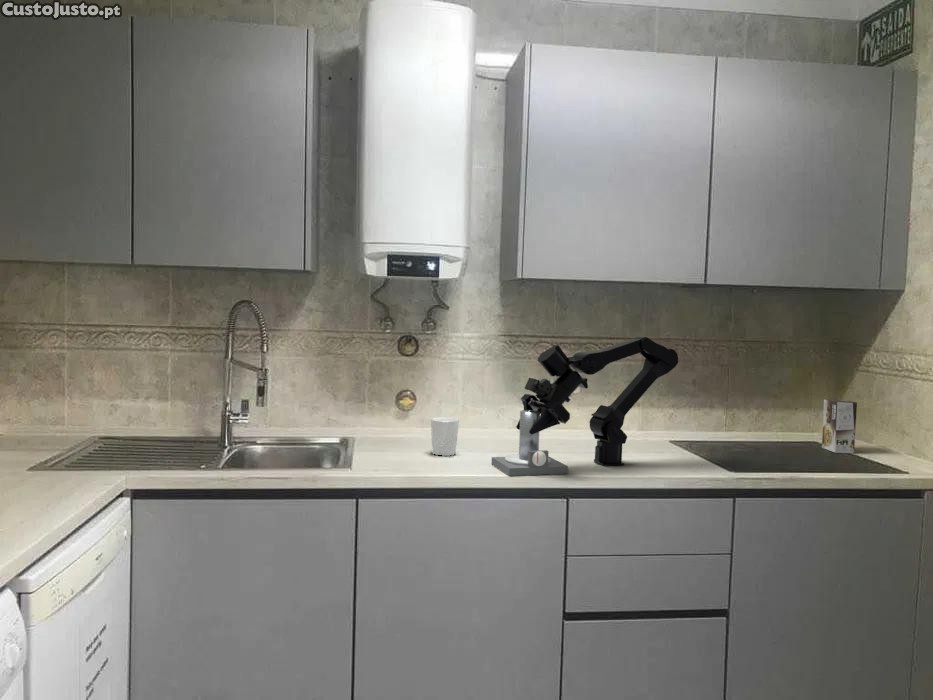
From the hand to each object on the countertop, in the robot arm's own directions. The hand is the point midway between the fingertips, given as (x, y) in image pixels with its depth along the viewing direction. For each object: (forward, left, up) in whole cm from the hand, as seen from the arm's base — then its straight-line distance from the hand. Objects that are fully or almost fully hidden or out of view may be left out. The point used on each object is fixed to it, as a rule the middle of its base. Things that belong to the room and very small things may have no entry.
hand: (523, 430), depth 192 cm
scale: (-1, +1, -10) cm, 10 cm away
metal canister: (-2, 0, -7) cm, 8 cm away
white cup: (+16, -22, -10) cm, 29 cm away
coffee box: (-110, -8, -10) cm, 111 cm away
